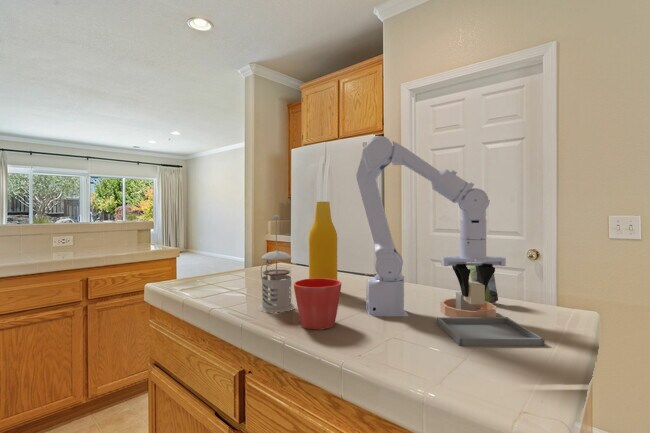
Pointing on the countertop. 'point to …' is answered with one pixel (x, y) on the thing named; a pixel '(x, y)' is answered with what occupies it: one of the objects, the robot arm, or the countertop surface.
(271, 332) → the countertop surface
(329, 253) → the beer bottle
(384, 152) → the robot arm
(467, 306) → the grey sharp-edged cube
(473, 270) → the beverage can
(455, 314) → the bowl
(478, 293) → the cream wooden cube
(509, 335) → the tray
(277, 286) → the french press
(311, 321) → the flower pot
